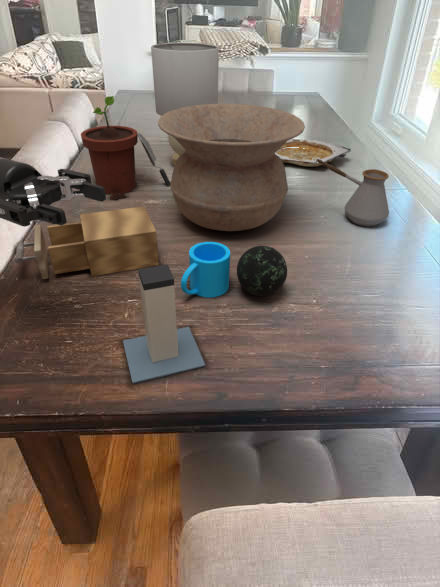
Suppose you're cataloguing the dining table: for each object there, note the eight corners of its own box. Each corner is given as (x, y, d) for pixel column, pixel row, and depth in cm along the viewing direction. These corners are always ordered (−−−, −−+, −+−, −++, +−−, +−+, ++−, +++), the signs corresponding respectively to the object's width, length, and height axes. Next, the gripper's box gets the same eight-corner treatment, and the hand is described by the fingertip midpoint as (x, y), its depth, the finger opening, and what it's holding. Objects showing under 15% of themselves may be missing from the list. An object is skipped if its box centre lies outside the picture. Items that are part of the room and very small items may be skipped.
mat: (132, 384, 65) (132, 382, 65) (123, 342, 72) (122, 340, 72) (205, 366, 68) (205, 364, 68) (189, 328, 76) (188, 326, 75)
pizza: (344, 176, 137) (351, 153, 154) (346, 164, 134) (353, 142, 151) (251, 165, 146) (268, 145, 163) (251, 153, 143) (268, 134, 160)
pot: (170, 191, 125) (165, 102, 110) (282, 193, 125) (293, 104, 110) (157, 249, 97) (148, 141, 82) (301, 251, 98) (318, 144, 83)
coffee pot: (385, 213, 115) (400, 160, 106) (386, 232, 106) (403, 176, 97) (308, 203, 120) (316, 151, 111) (303, 220, 111) (312, 165, 102)
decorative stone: (281, 277, 89) (287, 237, 83) (286, 307, 81) (293, 264, 75) (235, 276, 89) (237, 235, 83) (235, 305, 81) (238, 262, 75)
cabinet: (91, 276, 88) (84, 241, 83) (86, 247, 98) (79, 214, 92) (158, 265, 92) (156, 231, 87) (147, 238, 102) (144, 206, 96)
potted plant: (115, 172, 136) (104, 89, 121) (171, 184, 129) (166, 97, 114) (78, 191, 123) (60, 100, 108) (138, 206, 116) (127, 111, 101)
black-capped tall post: (152, 362, 68) (143, 284, 58) (147, 346, 71) (138, 269, 61) (178, 356, 69) (174, 278, 60) (172, 341, 72) (167, 264, 63)
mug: (208, 270, 91) (208, 237, 86) (236, 284, 87) (238, 251, 82) (168, 294, 84) (165, 260, 79) (197, 311, 79) (196, 276, 74)
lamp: (147, 166, 141) (136, 46, 120) (181, 150, 155) (177, 40, 134) (195, 178, 133) (193, 52, 112) (227, 161, 147) (231, 45, 125)
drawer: (20, 282, 84) (11, 254, 80) (22, 254, 93) (13, 227, 89) (108, 268, 89) (104, 241, 85) (102, 243, 98) (98, 216, 94)
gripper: (43, 189, 72) (119, 209, 66) (-29, 223, 62) (54, 251, 56) (32, 145, 67) (112, 164, 62) (-47, 175, 57) (41, 200, 52)
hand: (84, 205), depth 59 cm, fingers open, 8 cm apart
